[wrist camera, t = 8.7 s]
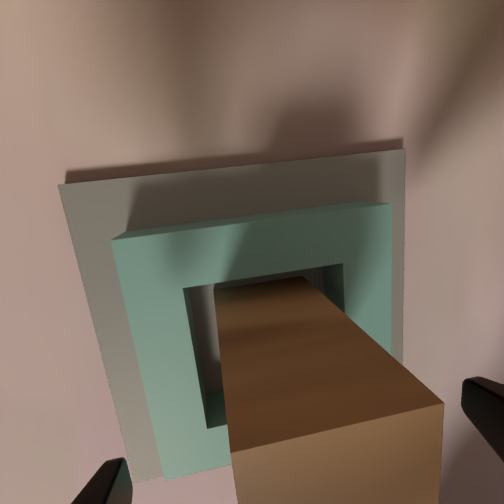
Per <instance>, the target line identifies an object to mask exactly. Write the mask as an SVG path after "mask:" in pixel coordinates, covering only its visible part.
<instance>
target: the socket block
mask: <svg viewBox="0 0 504 504" xmlns="http://www.w3.org/2000/svg"><path fill="white" fill-rule="evenodd" d="M405 167H406V149H398V150H388V151H378V152H369V153H359V154H349V155H340V156H330V157H321V158H311V159H301V160H292V161H282V162H272V163H263V164H253V165H243V166H234V167H224V168H214V169H205V170H195V171H185V172H176V173H166V174H157V175H147V176H137V177H128V178H118V179H108V180H99V181H89V182H79V183H70V184H60V185H58V189H59V192H60V196H61V200H62V204H63V208H64V212H65V216H66V220H67V223H68V227H69V231H70V235H71V239H72V243H73V247H74V250H75V254H76V258H77V262H78V266H79V270H80V274H81V278H82V281H83V285H84V289H85V293H86V297H87V301H88V305H89V309H90V312H91V316H92V320H93V324H94V328H95V332H96V336H97V340H98V343H99V347H100V351H101V355H102V359H103V363H104V367H105V371H106V374H107V378H108V382H109V386H110V390H111V394H112V398H113V402H114V405H115V409H116V413H117V417H118V421H119V425H120V429H121V433H122V436H123V440H124V444H125V448H126V452H127V456H128V460H129V464H130V467H131V471H132V475H133V479H134V483H138V482H142V481H146V480H150V479H154V478H159V477H163V476H164V479H165V480H169V479H174V478H178V477H182V476H186V475H190V474H194V473H198V472H203V471H207V470H211V469H215V468H219V467H223V466H227V465H231V464H232V461H231V455H230V446H229V436H228V427H227V417H226V408H225V398H224V389H223V379H222V370H221V361H220V351H219V342H218V332H217V323H216V313H215V304H214V294H213V290H215V289H221V288H227V287H234V286H240V285H246V284H253V283H259V282H265V281H272V280H278V279H284V278H291V277H297V276H303V277H304V278H306V279H307V280H308V281H309V282H310V283H311V284H312V285H313V286H314V287H316V288H317V289H318V290H319V291H320V292H321V293H322V294H323V295H325V296H326V297H327V298H328V299H329V300H330V301H331V302H332V303H333V304H335V305H336V306H337V307H338V308H339V309H340V310H341V311H342V312H343V313H345V314H346V315H347V316H348V317H349V318H350V319H351V320H352V321H354V322H355V323H356V324H357V325H358V326H359V327H360V328H361V329H362V330H364V331H365V332H366V333H367V334H368V335H369V336H370V337H371V338H372V339H374V340H375V341H376V342H377V343H378V344H379V345H380V346H381V347H383V348H384V349H385V350H386V351H387V352H388V353H389V354H390V355H391V356H393V357H394V358H395V359H396V360H397V361H398V362H399V363H400V364H402V359H403V295H404V231H405Z"/></svg>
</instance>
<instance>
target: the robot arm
mask: <svg viewBox="0 0 504 504" xmlns="http://www.w3.org/2000/svg"><path fill="white" fill-rule="evenodd" d="M461 406H462V409H463V411H464V413H465V414H466V416H467V417H468V418H469V419H470V421H471V422H472V423H473V424H474V426H475V427H476V428H477V429H478V431H479V432H480V433H481V435H482V436H483V437H484V438H485V440H486V441H487V442H488V443H489V445H490V446H491V447H492V448H493V450H494V451H495V452H496V453H497V455H498V456H499V457H500V458H501V460H502V461H503V462H504V384H501V383H498V382H495V381H492V380H489V379H486V378H483V377H479V376H478V377H472V378H468V379H465V380H464V381H463V384H462V397H461ZM132 494H133V487H132V481H131V477H130V474H129V470H128V466H127V462H126V460H125V458H123V457H120V458H116V459H112V460H108V461H106V462H105V463H104V464H103V465H102V466H101V467H100V468H99V470H98V471H97V472H96V473H95V474H94V476H93V477H92V478H91V479H90V481H89V482H88V483H87V484H86V486H85V487H84V488H83V489H82V491H81V492H80V493H79V494H78V495H77V497H76V498H75V499H74V500H73V502H72V503H71V504H131V503H132Z"/></svg>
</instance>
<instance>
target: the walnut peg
mask: <svg viewBox="0 0 504 504" xmlns="http://www.w3.org/2000/svg"><path fill="white" fill-rule="evenodd" d="M213 294H214V304H215V313H216V323H217V332H218V342H219V351H220V361H221V370H222V379H223V389H224V398H225V408H226V417H227V427H228V436H229V446H230V455H231V461H232V468H233V474H234V481H235V487H236V494H237V500H238V504H439V488H440V471H441V453H442V436H443V419H444V402H443V401H442V400H441V399H439V398H438V397H437V396H436V395H435V394H434V393H433V392H432V391H431V390H429V389H428V388H427V387H426V386H425V385H424V384H423V383H422V382H420V381H419V380H418V379H417V378H416V377H415V376H414V375H413V374H412V373H410V372H409V371H408V370H407V369H406V368H405V367H404V366H403V365H402V364H400V363H399V362H398V361H397V360H396V359H395V358H394V357H393V356H391V355H390V354H389V353H388V352H387V351H386V350H385V349H384V348H383V347H381V346H380V345H379V344H378V343H377V342H376V341H375V340H374V339H372V338H371V337H370V336H369V335H368V334H367V333H366V332H365V331H364V330H362V329H361V328H360V327H359V326H358V325H357V324H356V323H355V322H354V321H352V320H351V319H350V318H349V317H348V316H347V315H346V314H345V313H343V312H342V311H341V310H340V309H339V308H338V307H337V306H336V305H335V304H333V303H332V302H331V301H330V300H329V299H328V298H327V297H326V296H325V295H323V294H322V293H321V292H320V291H319V290H318V289H317V288H316V287H314V286H313V285H312V284H311V283H310V282H309V281H308V280H307V279H306V278H304V277H303V276H297V277H291V278H284V279H278V280H272V281H265V282H259V283H253V284H246V285H240V286H234V287H227V288H221V289H215V290H213Z"/></svg>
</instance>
